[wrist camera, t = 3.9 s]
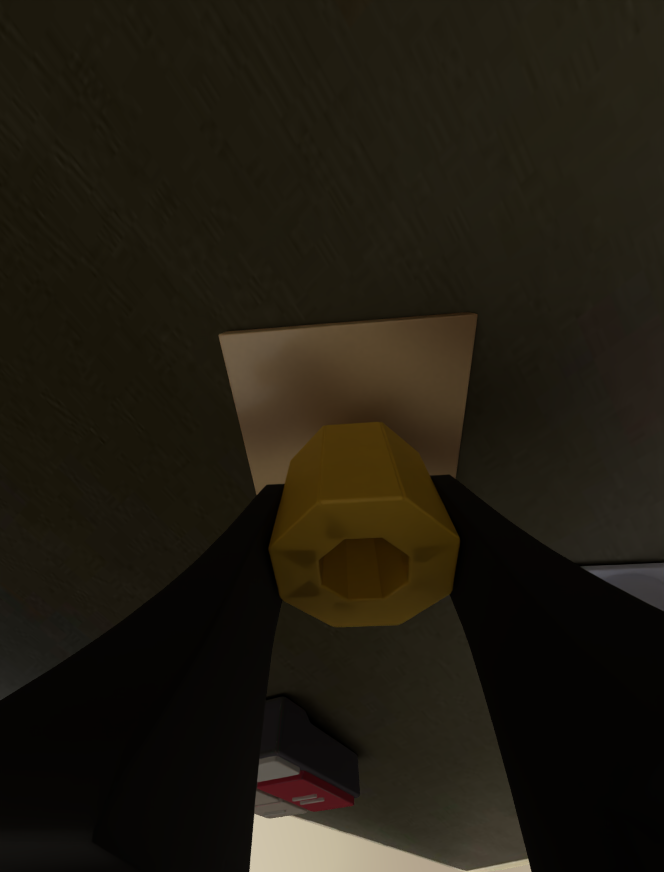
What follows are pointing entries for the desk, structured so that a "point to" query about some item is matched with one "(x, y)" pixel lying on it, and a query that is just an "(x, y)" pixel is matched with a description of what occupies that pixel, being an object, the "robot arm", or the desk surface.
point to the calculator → (301, 765)
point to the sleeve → (362, 530)
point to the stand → (351, 385)
